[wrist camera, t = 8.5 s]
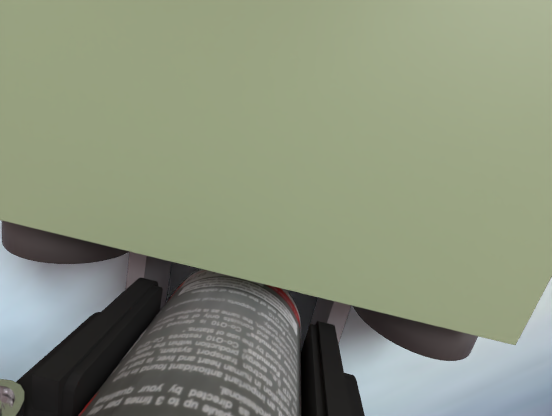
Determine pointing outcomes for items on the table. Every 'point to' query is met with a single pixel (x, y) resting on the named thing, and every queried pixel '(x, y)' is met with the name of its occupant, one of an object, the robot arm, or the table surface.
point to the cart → (292, 151)
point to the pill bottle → (211, 355)
